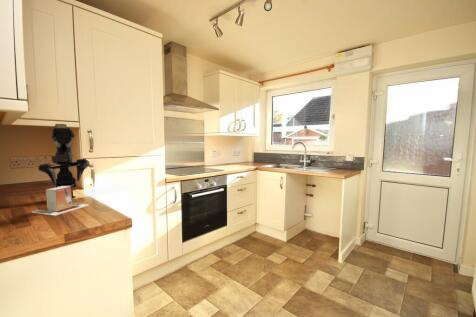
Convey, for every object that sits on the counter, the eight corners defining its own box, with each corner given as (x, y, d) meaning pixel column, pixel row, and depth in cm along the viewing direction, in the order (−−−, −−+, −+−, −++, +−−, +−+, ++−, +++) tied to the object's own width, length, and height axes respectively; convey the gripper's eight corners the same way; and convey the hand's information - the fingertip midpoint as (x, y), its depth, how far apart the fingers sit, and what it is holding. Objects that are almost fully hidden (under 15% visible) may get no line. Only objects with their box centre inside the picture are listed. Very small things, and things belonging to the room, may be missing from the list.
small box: (56, 211, 103) (55, 189, 102) (47, 211, 104) (45, 189, 103) (72, 206, 111) (71, 186, 110) (63, 206, 112) (62, 185, 111)
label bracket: (31, 212, 102) (31, 211, 102) (67, 202, 117) (67, 202, 117) (54, 215, 97) (54, 214, 97) (88, 205, 113) (88, 204, 112)
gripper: (30, 149, 96) (32, 184, 93) (81, 143, 103) (84, 176, 100) (43, 156, 106) (45, 188, 103) (88, 150, 113) (91, 180, 110)
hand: (66, 183), depth 104 cm, fingers open, 9 cm apart
